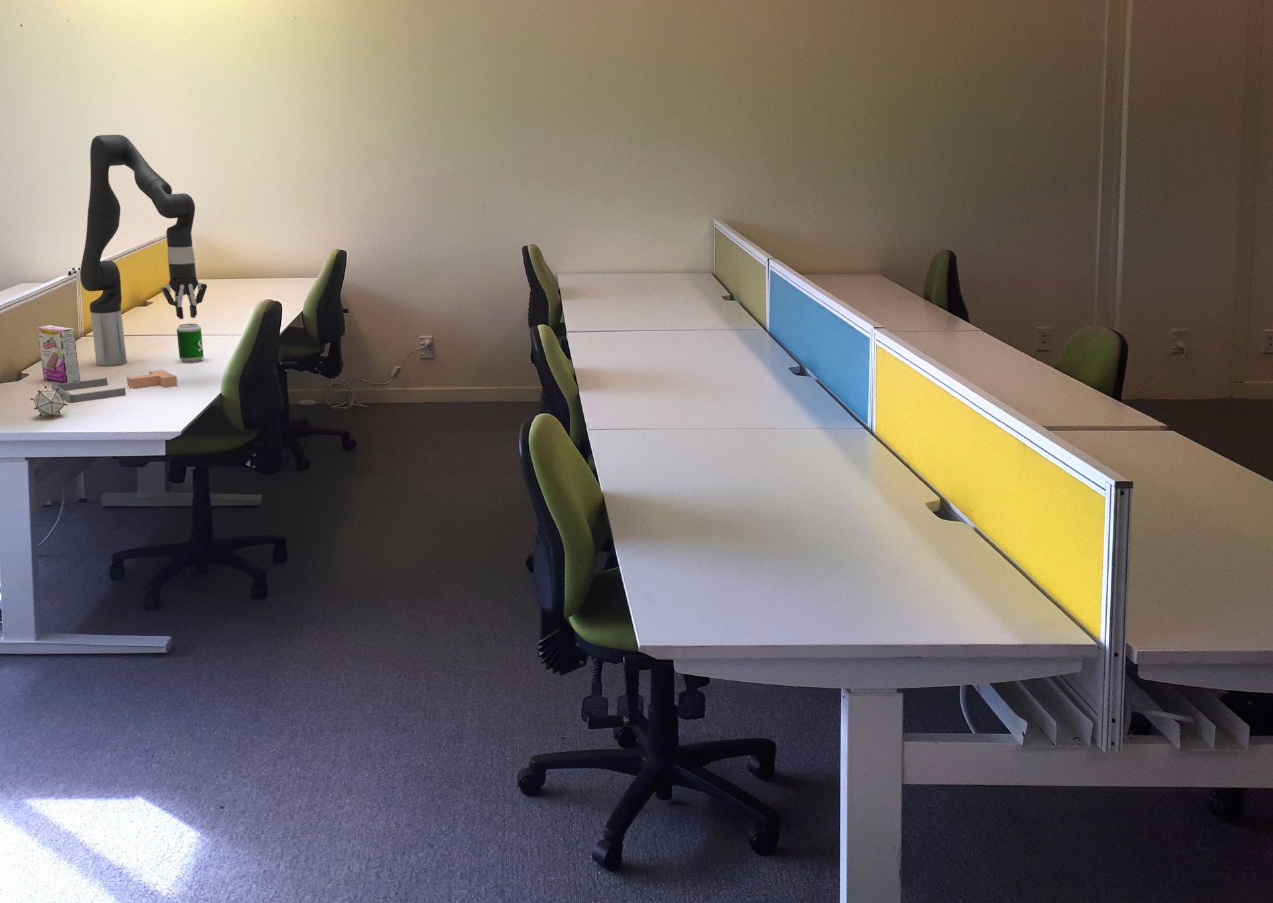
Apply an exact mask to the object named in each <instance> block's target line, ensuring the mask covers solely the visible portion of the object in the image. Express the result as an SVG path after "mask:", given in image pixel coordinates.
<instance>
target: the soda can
mask: <svg viewBox="0 0 1273 903" xmlns="http://www.w3.org/2000/svg"><path fill="white" fill-rule="evenodd" d="M176 335H177V345H178V356H179V360H181V362H183V363H188V364H189V363H190V364H191V363H199V362H202V359H203V358H204V347H203V338H202V337H203V335H202V327H201V326H199V324H197V323H182V324H179V325H178V327H177V328H176ZM203 360H204V359H203Z"/></svg>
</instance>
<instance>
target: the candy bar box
mask: <svg viewBox="0 0 1273 903" xmlns="http://www.w3.org/2000/svg"><path fill="white" fill-rule="evenodd" d="M36 330H37V337H38V345H39V350H40V359H41V366H42V375H43V379H44V380H46V381H52V382H58V383H61V384H62V383H70V382H77V381H81V377H80V367H79V363H78V362H79V361H78V360H79V359H78V352H77V345H76V344H77V343H76V337H75V329H74V328H71V327H64V326H58V325H56V326H55V325H50V324H49V325H44V326H39V327H37V328H36Z"/></svg>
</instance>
